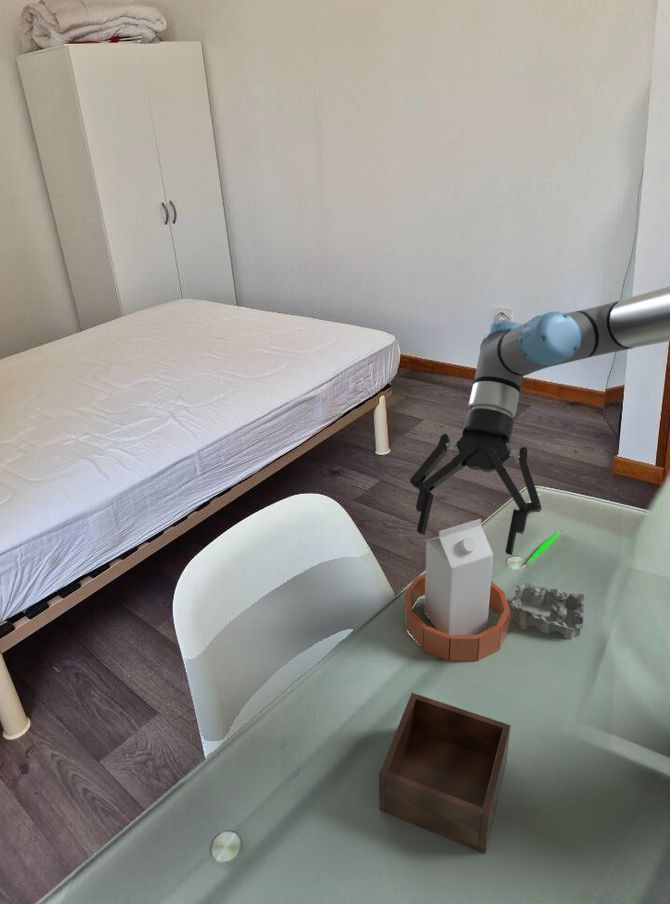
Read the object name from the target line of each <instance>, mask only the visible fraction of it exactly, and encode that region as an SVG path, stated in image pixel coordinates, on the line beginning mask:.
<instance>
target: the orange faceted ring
mask: <svg viewBox="0 0 670 904" xmlns="http://www.w3.org/2000/svg"><path fill="white" fill-rule="evenodd" d="M425 574H426V573H423V574H420V575H419V576H416V577H415V578H414V579H413V580H412V582H411V584H410V585H409V586H408V587H407V589H406V590H405V592H404V614H405V615H404V619H405V618H406V623H405V628H406V627H407V630H408V631H409V633H410V634H411V635H412V636H413V638H414V639H415V641H417V643H418V644H419V646H420V647H421V648H422V649H424V650H423V652H425V653H427V654H430V655H432V656H435V657H437V658H440V659H441V660H444V661H447V662H448V661H449V662H479V661H480V660H483V659H485V658H487V657H489V656H491V655H493V654H495V653H497V652H498V651H500V650H501V648H502V645H503V644H504V641H505V640H506V638H507V636H508V633H509V624H510V614H511V609H510V605H509V603H508V600H507V597H506V593H505V591H504V590H503V589H502V588H500V587H499V586H498V585H497V584H496V583H494V582H493V581H492V580H491V586H490V599H489V609H490V610H492V611H493V612H494V613H495V614H496V615H497V617H498V622H497V624H496V625H494V626H492V627H490V628H487V630H486V631H484V632H482V633H479V634H476V635H449V634H447V633H444V632H442V631H439V630H436V628H435V627H431V626H428V625H426V623H425V622H424V621H423V620H422V619H421V618H420V617H419V616H418V615H417V614H416V613H415V612H414V610H412V607H413V605H414V604H415V602H416V601H417V599H418V598H419V597H420V596H423V595H425ZM415 641H414V642H415ZM419 646H418V647H419ZM420 647H419V648H420ZM421 648H420V649H421ZM422 649H421V650H422Z"/></svg>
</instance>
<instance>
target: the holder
mask: <svg viewBox="0 0 670 904" xmlns="http://www.w3.org/2000/svg"><path fill="white" fill-rule="evenodd" d="M511 726H512V725H511V724H508V723H506V722H503V721H500V720H496V719H493V718H491V717H488V716H484V715H481V714H478V713H475V712H472V711H469V710H465V709H464V708H460V707H457V706H453V705H451V704H448V703H444V702H442V701H439V700H436V699H433V698H429V697H426V696H423V695H421V694H417V693H415V692H410V695H409V698H408V701H407V703H406V706H405V708H404V711H403V713H402V716H401V718H400V720H399V723H398V725H397V728H396V730H395V733H394V735H393V738H392V740H391V742H390V745H389V747H388V750H387V753H386V755H385V758H384V760H383V763H382V764H381V767H380V770H379V772H378V807H379V808H378V809H379V811H381V812H383V813H385V814H388V815H390V816H392V817H394V818H398V819H400V820H402V821H405V822H407V823H410V824H412V825H415V826H417V827H419V828H422V829H424V830H426V831H429V832H432V833H434V834H436V835H439V836H441V837H444V838H446V839H449V840H451V841H454V842H456V843H458V844H460V845H463V846H465V847H467V848H470V849H473V850H476V851H477V852H480V853H482V854H486V852H487V848H488V843H489V839H490V835H491V831H492V827H493V822H494V818H495V813H496V809H497V805H498V801H499V797H500V792H501V787H502V783H503V779H504V775H505V771H506V766H507V762H508V753H509V744H510V735H511Z"/></svg>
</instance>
